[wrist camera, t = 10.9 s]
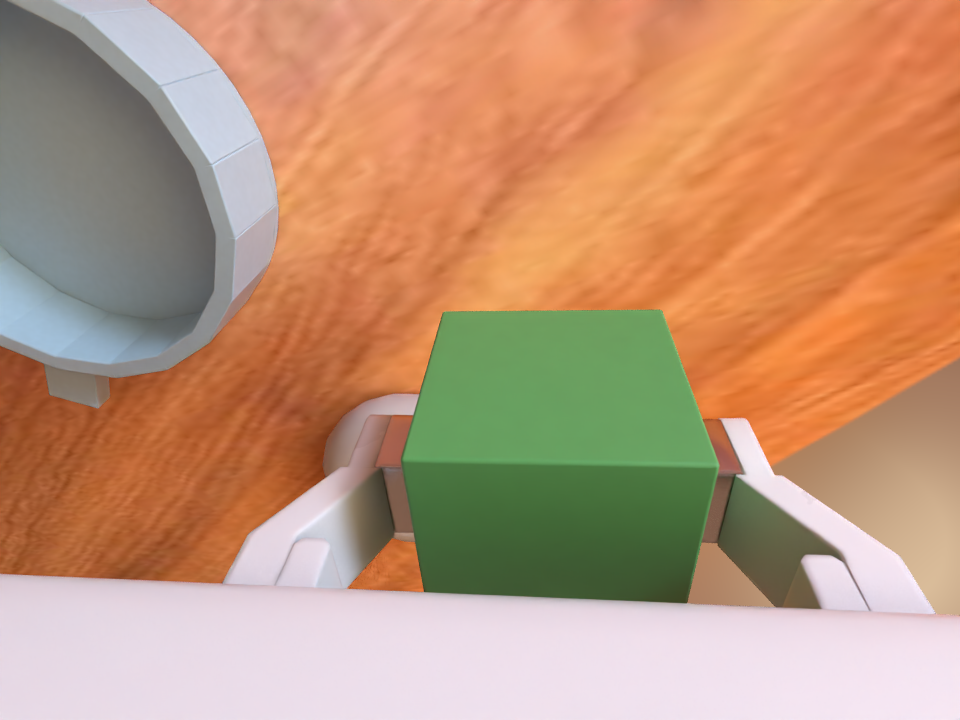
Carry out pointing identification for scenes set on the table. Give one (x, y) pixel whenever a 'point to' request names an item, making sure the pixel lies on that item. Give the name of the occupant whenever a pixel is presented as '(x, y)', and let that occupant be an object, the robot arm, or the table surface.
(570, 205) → the table surface
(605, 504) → the block
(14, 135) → the pan
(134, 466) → the table surface
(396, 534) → the donut
